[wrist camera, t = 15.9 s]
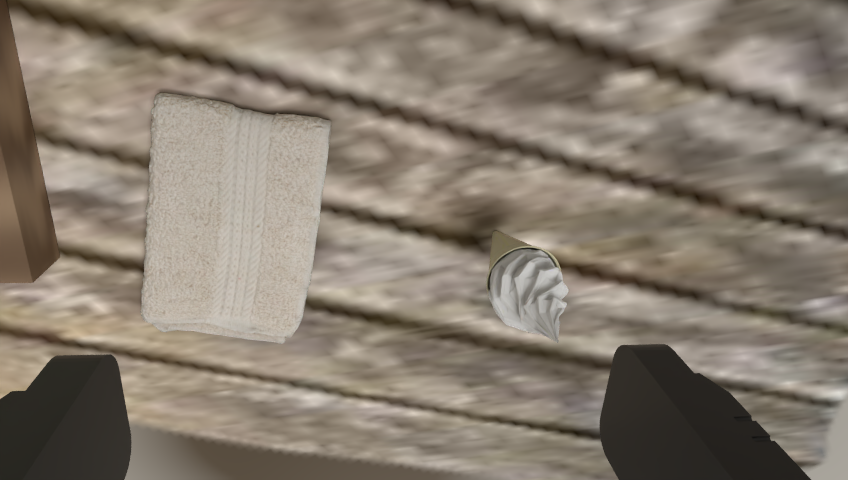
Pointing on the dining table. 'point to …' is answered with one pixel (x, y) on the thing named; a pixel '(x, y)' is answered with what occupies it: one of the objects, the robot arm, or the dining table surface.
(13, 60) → the walnut base
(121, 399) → the robot arm
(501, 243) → the ice cream cone
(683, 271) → the dining table surface
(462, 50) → the dining table surface
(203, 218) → the washcloth
